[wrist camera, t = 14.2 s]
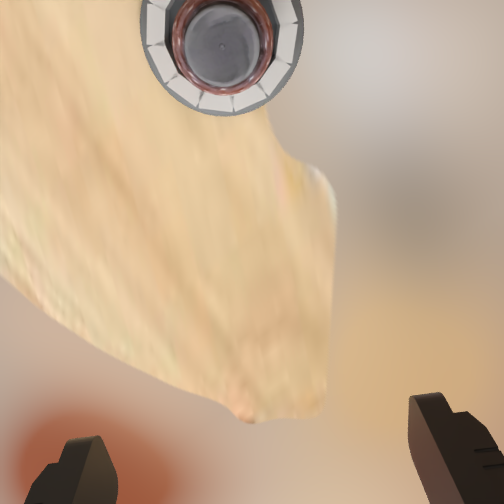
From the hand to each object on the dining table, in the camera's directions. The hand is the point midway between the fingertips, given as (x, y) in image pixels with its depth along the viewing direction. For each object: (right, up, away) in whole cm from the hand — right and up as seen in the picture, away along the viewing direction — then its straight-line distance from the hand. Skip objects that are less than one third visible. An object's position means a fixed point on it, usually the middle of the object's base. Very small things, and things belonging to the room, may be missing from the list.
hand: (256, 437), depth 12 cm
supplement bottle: (-2, +21, +22) cm, 30 cm away
